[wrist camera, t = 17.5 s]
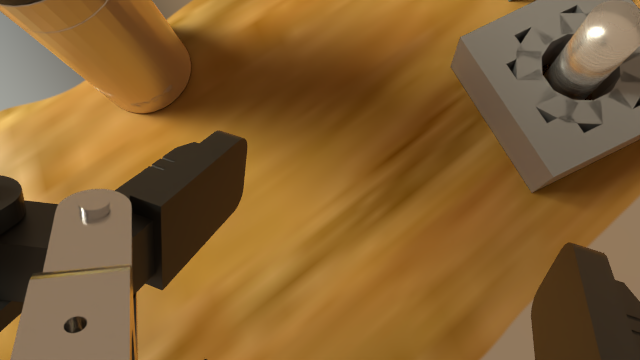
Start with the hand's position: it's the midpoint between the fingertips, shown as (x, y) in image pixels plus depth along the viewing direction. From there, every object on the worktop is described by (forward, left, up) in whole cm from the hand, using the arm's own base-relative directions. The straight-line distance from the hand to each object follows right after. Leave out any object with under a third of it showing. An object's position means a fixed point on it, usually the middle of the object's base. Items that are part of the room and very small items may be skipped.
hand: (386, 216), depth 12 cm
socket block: (-8, +23, -29) cm, 38 cm away
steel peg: (-8, +23, -29) cm, 38 cm away
